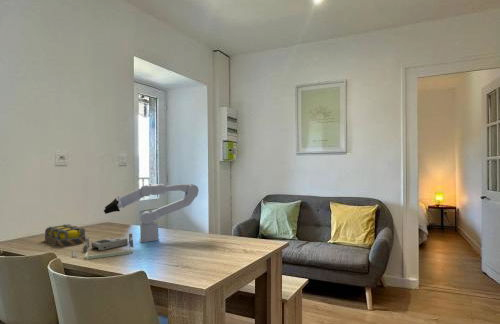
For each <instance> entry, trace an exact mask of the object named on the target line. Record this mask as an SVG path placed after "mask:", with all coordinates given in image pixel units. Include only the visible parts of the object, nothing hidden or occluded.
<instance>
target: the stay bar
mask: <svg viewBox="0 0 500 324" xmlns="http://www.w3.org/2000/svg"><path fill="white" fill-rule="evenodd" d="M77 256H78V253H77V250H76V249H75V250H72V258H77Z"/></svg>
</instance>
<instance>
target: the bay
mask: <svg viewBox="0 0 500 324" xmlns="http://www.w3.org/2000/svg"><path fill="white" fill-rule="evenodd" d="M133 252H134V251H133V246H130V247H129V250H122V251H115V252H105V253H98V254H97V253H96V254H90V255H89V252H88V251H87V252H85V255H84V260H87V259H88V260H93V259H100V258H106V257H108V258H109V257H115V256H116V255H117V256H124V255H130V254H133Z"/></svg>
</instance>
